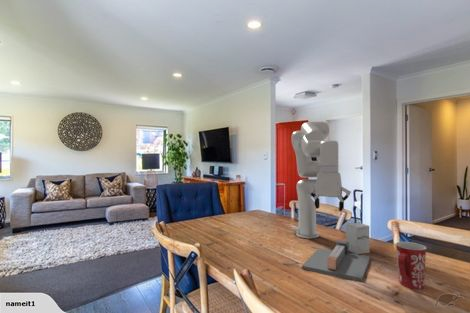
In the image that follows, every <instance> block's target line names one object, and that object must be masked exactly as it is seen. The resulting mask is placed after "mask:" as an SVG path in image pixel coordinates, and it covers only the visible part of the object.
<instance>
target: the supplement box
mask: <svg viewBox="0 0 470 313" xmlns="http://www.w3.org/2000/svg"><path fill="white" fill-rule="evenodd" d="M345 235H346V236H345V241H346V242H349V253H350V252H351V253H352V254H357V255H364V254H370V225H368V224H364V223H361V222H350V223H346V224H345Z"/></svg>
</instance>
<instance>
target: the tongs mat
mask: <svg viewBox="0 0 470 313" xmlns="http://www.w3.org/2000/svg"><path fill="white" fill-rule="evenodd" d="M332 251H333V249H332V250H331V249H327V248H321V247H318V248H317V249H316V250H315V251H314V252H313V253H312V254H311V255H310V257H309V258H307V259H306V261H305V262H303V264H302V265H301V269H303V270H306V271H312V272H316V273H321V274H326V275H330V276H335V277H338V278H342V279H348V280H354V281H357V282H363V280H364V278H365V275H366V271H367V269H368V267H369V263H370V261H371V256H368V255H364V254H354V253H352V252H351V253H350V252H349V254H348V255H345V256H344V258H343V260H342V261H341V263H340V265H339V266H338V268H337V270H332V269H327V258H328V256H329V255H330V254H331V252H332Z"/></svg>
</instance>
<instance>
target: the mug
mask: <svg viewBox="0 0 470 313" xmlns="http://www.w3.org/2000/svg"><path fill="white" fill-rule="evenodd" d="M395 248H396V257H397V259H396V260H397V269H398V282H399V284H400V285H401V286H404V287H406V288H409V289H416V290H420V289H421V290H422V289H424V288H425V277H426V273H425V272H426V258H427V257H426V256H427V255H426V254H427V246H426V245H423V244H420V243H416V242H412V241H411V242H410V241H398V242H395ZM423 287H424V288H423Z"/></svg>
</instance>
